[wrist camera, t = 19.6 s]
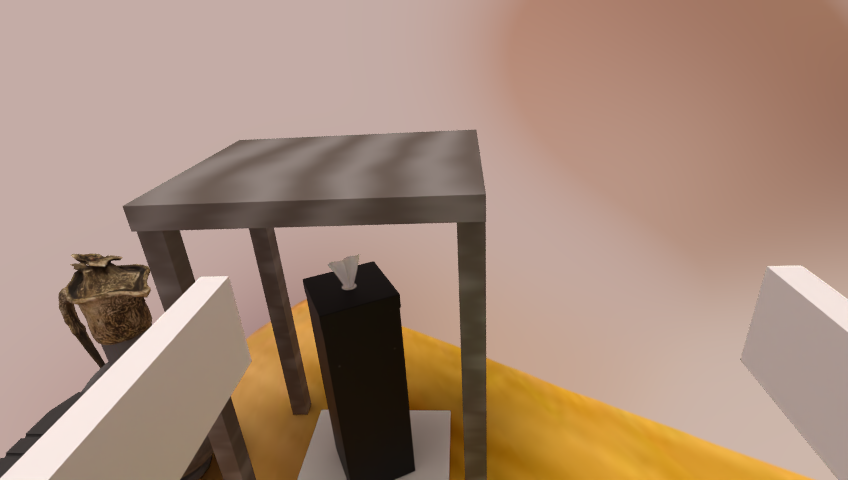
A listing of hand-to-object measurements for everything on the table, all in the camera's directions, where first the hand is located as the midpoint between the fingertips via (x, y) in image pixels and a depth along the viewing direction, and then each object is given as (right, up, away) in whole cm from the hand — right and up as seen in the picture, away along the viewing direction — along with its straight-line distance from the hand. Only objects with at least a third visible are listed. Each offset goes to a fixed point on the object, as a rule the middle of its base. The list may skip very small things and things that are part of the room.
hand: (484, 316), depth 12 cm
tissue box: (-8, -25, +46) cm, 53 cm away
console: (-7, -25, +46) cm, 53 cm away
